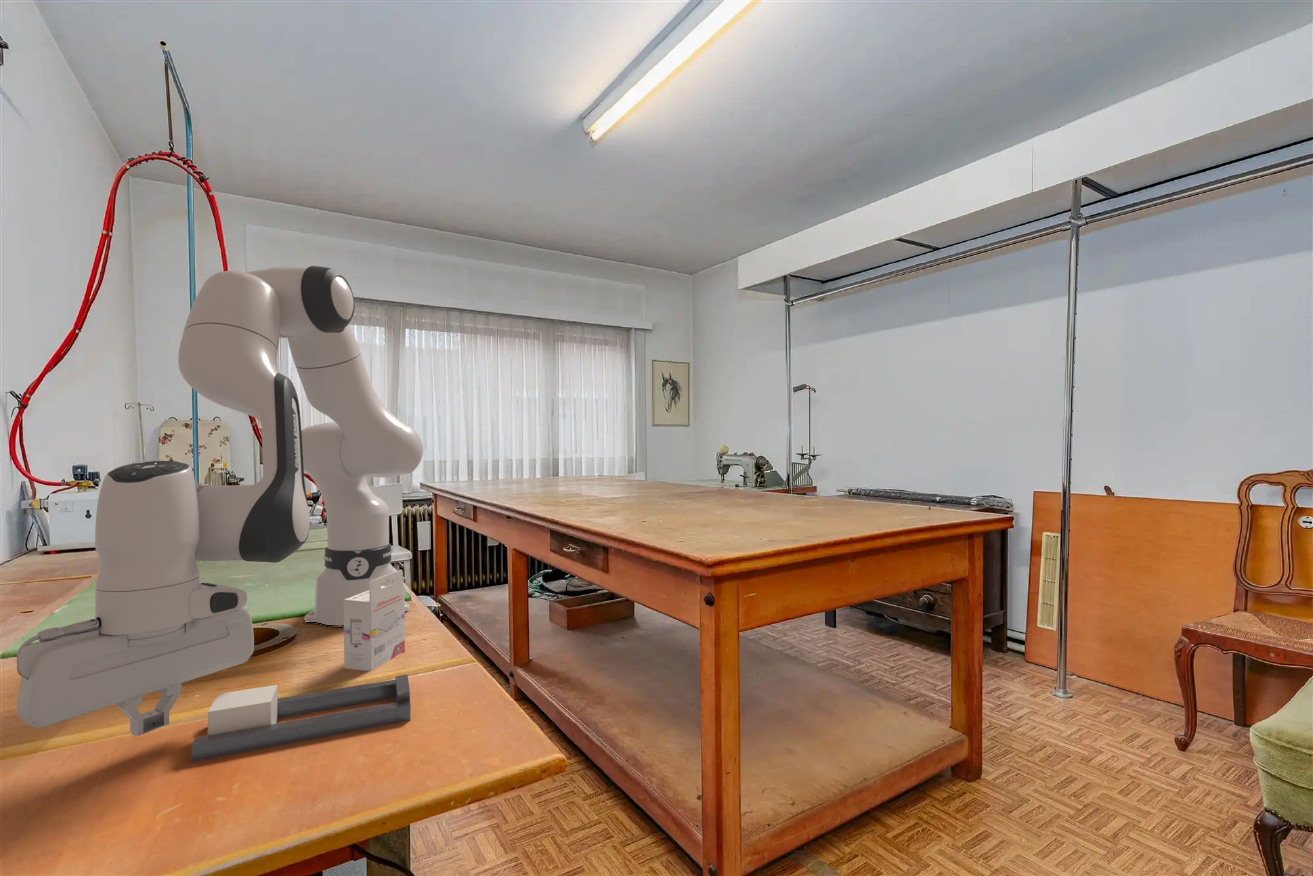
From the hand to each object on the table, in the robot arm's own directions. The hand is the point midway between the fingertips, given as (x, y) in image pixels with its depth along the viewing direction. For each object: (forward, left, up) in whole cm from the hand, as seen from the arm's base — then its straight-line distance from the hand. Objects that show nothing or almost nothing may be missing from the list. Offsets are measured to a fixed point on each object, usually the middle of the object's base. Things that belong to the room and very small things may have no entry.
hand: (149, 729), depth 65 cm
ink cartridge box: (-19, +23, -4) cm, 30 cm away
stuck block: (0, +9, -2) cm, 9 cm away
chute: (0, +16, -4) cm, 16 cm away
